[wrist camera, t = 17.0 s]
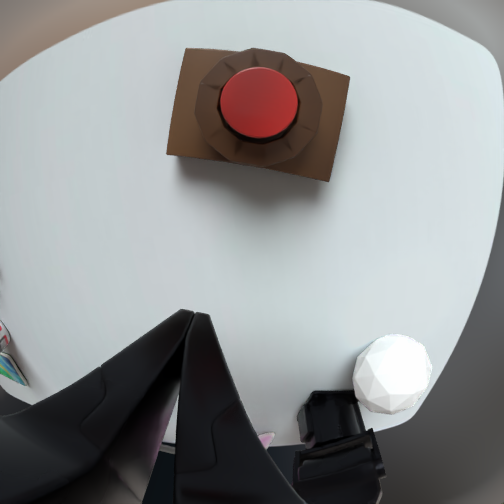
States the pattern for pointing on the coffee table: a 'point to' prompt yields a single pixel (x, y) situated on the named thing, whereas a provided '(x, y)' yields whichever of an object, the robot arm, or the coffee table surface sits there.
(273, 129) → the button
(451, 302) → the coffee table surface
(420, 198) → the coffee table surface
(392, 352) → the geometric ball
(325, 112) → the button block
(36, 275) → the coffee table surface
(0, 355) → the smartphone
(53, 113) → the coffee table surface
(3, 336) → the pill bottle
